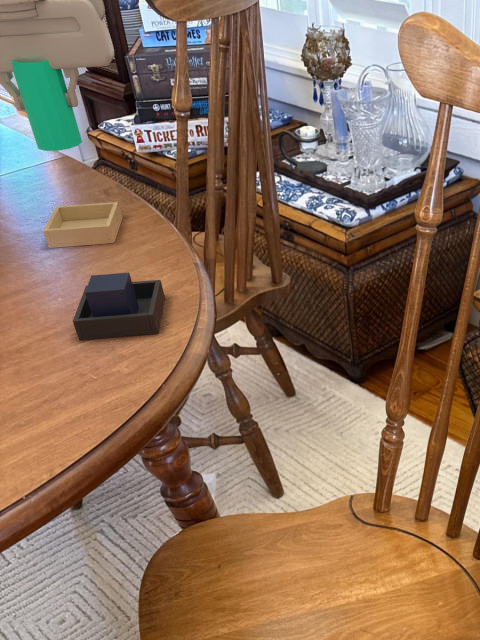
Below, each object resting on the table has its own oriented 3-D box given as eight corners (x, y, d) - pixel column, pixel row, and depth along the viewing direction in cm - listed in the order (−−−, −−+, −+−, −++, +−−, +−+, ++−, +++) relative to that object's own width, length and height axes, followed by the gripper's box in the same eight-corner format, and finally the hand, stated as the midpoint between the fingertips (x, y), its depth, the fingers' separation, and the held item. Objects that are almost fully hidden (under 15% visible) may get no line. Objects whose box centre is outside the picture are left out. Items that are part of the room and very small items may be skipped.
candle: (84, 135, 109) (56, 35, 101) (79, 148, 105) (49, 45, 97) (40, 138, 109) (8, 39, 100) (33, 152, 104) (-1, 49, 96)
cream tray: (48, 248, 112) (42, 230, 110) (61, 223, 118) (55, 206, 117) (114, 243, 112) (109, 225, 111) (122, 218, 119) (118, 201, 117)
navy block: (96, 327, 93) (84, 292, 90) (102, 309, 96) (91, 275, 93) (134, 324, 94) (124, 289, 90) (138, 306, 97) (129, 272, 94)
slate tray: (79, 340, 92) (72, 321, 90) (91, 304, 99) (85, 285, 97) (158, 333, 93) (152, 314, 91) (165, 298, 99) (160, 279, 98)
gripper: (101, -28, 97) (130, 95, 107) (-69, -18, 96) (-24, 106, 105) (92, -19, 93) (124, 109, 102) (-86, -9, 91) (-37, 119, 101)
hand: (48, 107), depth 104 cm, fingers closed on candle, 5 cm apart
